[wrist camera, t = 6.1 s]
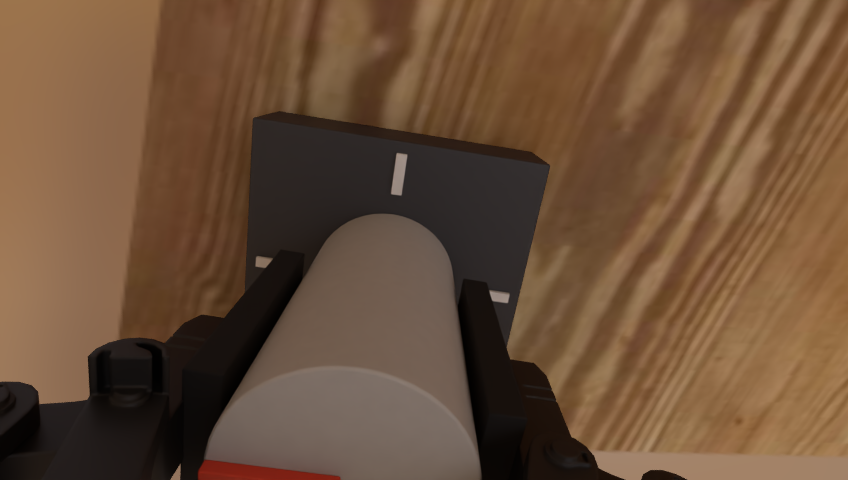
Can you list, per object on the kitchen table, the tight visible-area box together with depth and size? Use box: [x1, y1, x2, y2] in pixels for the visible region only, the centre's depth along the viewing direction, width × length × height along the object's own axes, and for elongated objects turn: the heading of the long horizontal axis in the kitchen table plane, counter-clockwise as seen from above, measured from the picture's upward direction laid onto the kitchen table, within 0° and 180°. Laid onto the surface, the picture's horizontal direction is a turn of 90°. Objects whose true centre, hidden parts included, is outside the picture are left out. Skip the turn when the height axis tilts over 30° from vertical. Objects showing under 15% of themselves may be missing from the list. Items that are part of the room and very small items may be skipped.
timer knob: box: [198, 214, 482, 480], centre depth 13 cm, size 5×5×10 cm
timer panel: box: [245, 111, 550, 347], centre depth 19 cm, size 10×10×3 cm
